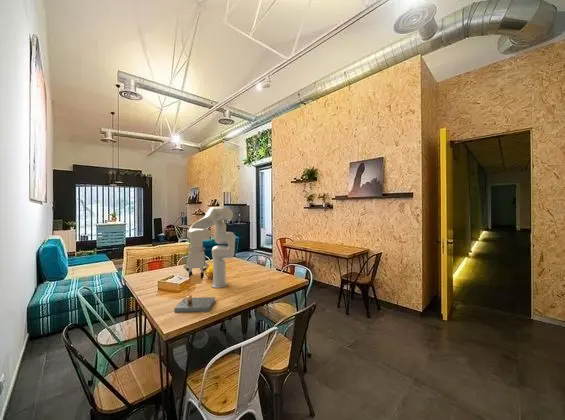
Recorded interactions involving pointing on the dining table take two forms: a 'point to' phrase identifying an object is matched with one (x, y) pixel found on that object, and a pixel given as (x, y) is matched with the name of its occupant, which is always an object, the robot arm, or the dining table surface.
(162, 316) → the dining table surface
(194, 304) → the plate
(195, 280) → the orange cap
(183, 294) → the dining table surface
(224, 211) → the robot arm
